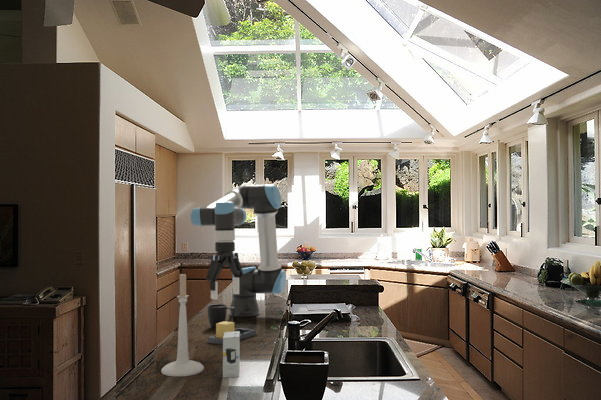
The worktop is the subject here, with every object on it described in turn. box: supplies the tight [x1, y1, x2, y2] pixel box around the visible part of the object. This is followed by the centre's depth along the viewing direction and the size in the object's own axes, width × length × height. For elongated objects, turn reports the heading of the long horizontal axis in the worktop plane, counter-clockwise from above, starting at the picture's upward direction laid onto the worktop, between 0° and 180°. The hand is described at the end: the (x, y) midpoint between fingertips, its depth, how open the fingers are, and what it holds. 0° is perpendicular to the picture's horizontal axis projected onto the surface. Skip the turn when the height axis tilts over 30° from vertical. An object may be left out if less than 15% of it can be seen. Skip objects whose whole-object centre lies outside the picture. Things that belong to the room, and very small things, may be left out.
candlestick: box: [160, 273, 205, 377], centre depth 159 cm, size 13×13×30 cm
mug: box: [207, 303, 235, 330], centre depth 222 cm, size 8×12×10 cm
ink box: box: [222, 331, 241, 378], centre depth 155 cm, size 9×5×12 cm, turn 5°
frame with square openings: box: [207, 327, 257, 346], centre depth 201 cm, size 20×8×2 cm, turn 150°
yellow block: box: [215, 320, 235, 338], centre depth 197 cm, size 5×5×7 cm
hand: (225, 296), depth 198 cm, fingers open, 13 cm apart
